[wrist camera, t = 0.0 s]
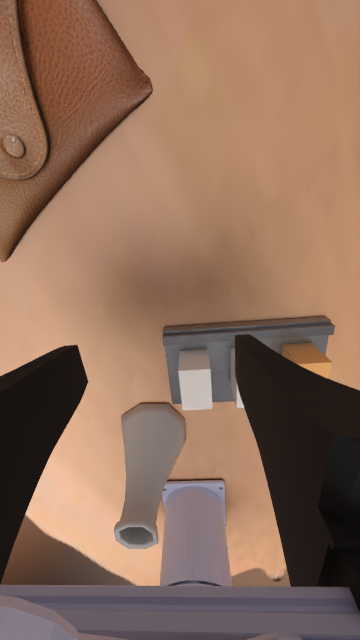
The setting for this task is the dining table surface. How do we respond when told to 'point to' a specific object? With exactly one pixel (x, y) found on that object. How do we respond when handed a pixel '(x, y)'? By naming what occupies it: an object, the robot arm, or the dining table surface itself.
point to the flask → (147, 469)
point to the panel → (223, 338)
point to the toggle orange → (308, 358)
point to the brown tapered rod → (56, 100)
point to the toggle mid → (234, 382)
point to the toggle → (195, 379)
